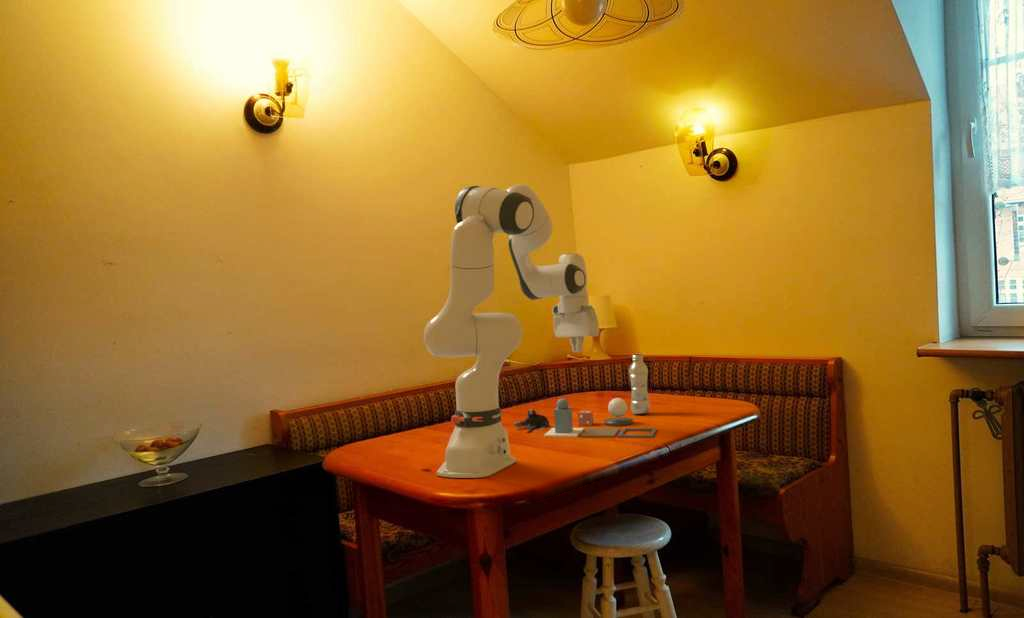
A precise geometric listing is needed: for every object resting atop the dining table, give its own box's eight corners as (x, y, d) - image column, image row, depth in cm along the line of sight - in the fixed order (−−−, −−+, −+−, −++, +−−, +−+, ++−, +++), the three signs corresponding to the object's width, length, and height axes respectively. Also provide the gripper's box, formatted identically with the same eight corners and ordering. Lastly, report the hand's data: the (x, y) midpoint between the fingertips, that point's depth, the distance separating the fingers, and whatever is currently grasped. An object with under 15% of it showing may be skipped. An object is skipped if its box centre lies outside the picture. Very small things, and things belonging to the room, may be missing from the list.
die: (591, 425, 225) (590, 412, 225) (578, 425, 226) (577, 412, 226) (593, 423, 229) (592, 410, 229) (581, 423, 230) (580, 410, 230)
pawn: (569, 433, 214) (567, 399, 213) (555, 432, 215) (553, 399, 215) (572, 429, 218) (571, 396, 217) (558, 429, 219) (557, 397, 219)
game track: (652, 437, 203) (652, 435, 203) (544, 436, 213) (544, 434, 213) (656, 430, 213) (656, 428, 213) (552, 429, 223) (552, 427, 223)
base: (630, 426, 221) (630, 423, 221) (601, 426, 223) (601, 422, 223) (634, 420, 229) (634, 417, 229) (607, 420, 232) (606, 417, 232)
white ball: (626, 418, 223) (625, 399, 222) (607, 418, 224) (606, 399, 224) (629, 414, 228) (628, 396, 228) (610, 415, 230) (609, 396, 230)
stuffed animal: (540, 418, 237) (550, 402, 228) (547, 446, 232) (558, 430, 223) (506, 422, 233) (515, 406, 224) (513, 450, 229) (522, 435, 219)
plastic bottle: (629, 416, 237) (626, 356, 236) (632, 412, 243) (629, 353, 243) (649, 416, 235) (646, 355, 234) (651, 412, 241) (648, 353, 241)
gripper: (602, 304, 212) (605, 351, 211) (565, 308, 230) (568, 351, 230) (584, 305, 209) (587, 352, 209) (549, 309, 227) (551, 352, 227)
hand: (577, 351), depth 219 cm, fingers closed
